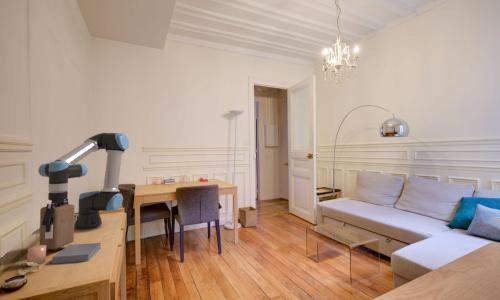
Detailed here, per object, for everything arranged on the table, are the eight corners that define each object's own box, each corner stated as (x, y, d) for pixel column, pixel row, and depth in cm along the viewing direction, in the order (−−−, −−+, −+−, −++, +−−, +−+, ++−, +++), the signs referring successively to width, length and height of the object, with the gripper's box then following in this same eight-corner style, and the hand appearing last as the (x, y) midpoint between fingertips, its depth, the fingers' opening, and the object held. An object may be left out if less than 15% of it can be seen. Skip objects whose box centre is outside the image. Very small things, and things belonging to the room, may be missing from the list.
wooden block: (54, 250, 108) (55, 209, 108) (38, 248, 110) (39, 207, 110) (74, 242, 118) (75, 204, 118) (59, 240, 120) (60, 203, 120)
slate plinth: (69, 250, 113) (69, 244, 113) (100, 248, 116) (100, 242, 116) (52, 263, 99) (52, 257, 99) (88, 260, 102) (88, 254, 103)
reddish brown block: (33, 260, 102) (33, 245, 102) (48, 259, 103) (49, 244, 103) (23, 267, 96) (24, 250, 96) (39, 265, 97) (40, 249, 97)
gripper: (63, 187, 125) (62, 225, 125) (32, 196, 101) (31, 243, 101) (78, 187, 127) (78, 224, 127) (51, 196, 103) (50, 242, 103)
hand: (57, 233), depth 114 cm, fingers open, 12 cm apart
